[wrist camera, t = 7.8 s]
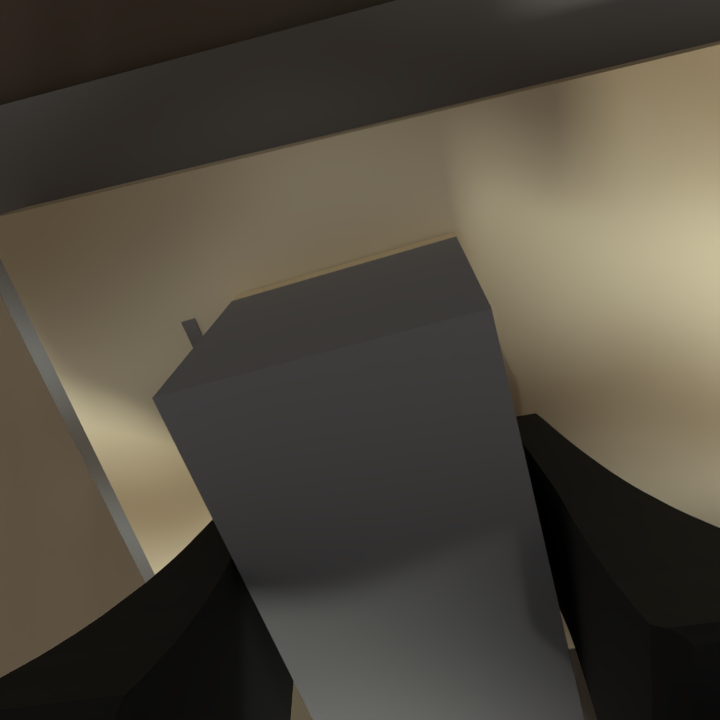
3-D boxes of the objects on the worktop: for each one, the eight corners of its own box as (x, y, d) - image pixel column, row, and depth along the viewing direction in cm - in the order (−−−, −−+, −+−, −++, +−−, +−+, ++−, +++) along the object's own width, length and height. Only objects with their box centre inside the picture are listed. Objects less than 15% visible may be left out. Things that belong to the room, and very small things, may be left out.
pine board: (947, 591, 17) (1013, 649, 15) (204, 682, 20) (186, 739, 18) (1156, -199, 10) (1331, -265, 8) (-70, 126, 12) (-145, 131, 11)
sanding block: (530, 549, 14) (588, 735, 10) (353, 583, 15) (338, 770, 11) (453, 231, 11) (491, 308, 7) (236, 294, 12) (151, 398, 8)
